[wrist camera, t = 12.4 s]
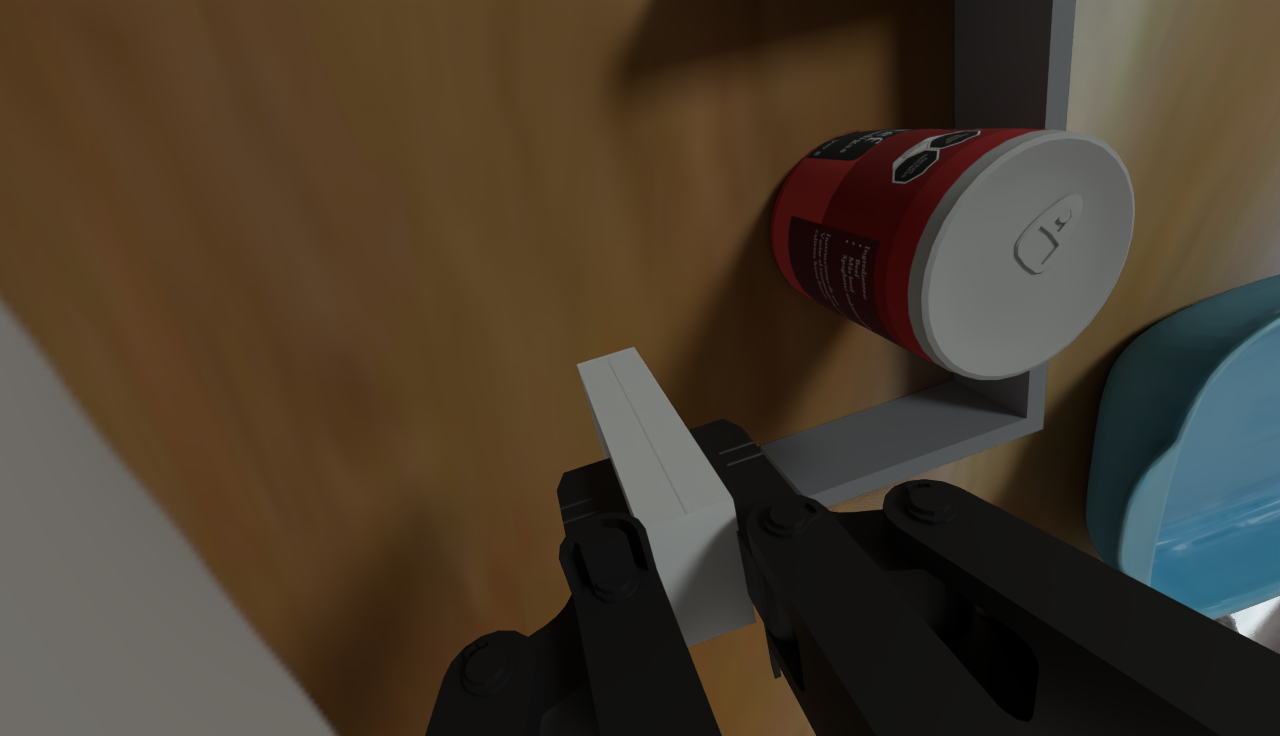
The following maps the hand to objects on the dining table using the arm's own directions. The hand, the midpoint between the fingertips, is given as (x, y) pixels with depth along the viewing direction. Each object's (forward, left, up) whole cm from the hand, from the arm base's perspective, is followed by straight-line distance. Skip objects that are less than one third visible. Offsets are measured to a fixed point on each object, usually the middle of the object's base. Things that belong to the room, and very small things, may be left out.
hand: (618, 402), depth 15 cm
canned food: (+1, +14, -13) cm, 18 cm away
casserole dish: (+21, +44, -13) cm, 50 cm away
